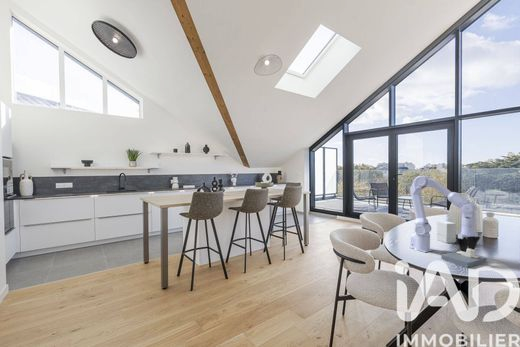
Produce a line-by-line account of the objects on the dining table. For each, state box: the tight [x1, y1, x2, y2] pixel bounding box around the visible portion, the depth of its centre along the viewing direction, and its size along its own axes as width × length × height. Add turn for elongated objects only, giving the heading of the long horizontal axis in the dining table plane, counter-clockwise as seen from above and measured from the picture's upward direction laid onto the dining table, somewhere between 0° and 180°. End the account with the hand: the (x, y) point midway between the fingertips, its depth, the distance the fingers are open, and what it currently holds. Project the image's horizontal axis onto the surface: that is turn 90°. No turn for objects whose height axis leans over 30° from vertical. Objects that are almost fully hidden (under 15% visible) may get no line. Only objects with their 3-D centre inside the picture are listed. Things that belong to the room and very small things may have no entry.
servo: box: [455, 247, 480, 258], centre depth 132 cm, size 9×3×6 cm, turn 24°
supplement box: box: [436, 220, 457, 244], centre depth 164 cm, size 7×7×13 cm
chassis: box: [441, 250, 488, 269], centre depth 131 cm, size 12×17×2 cm
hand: (467, 250), depth 132 cm, fingers open, 7 cm apart
